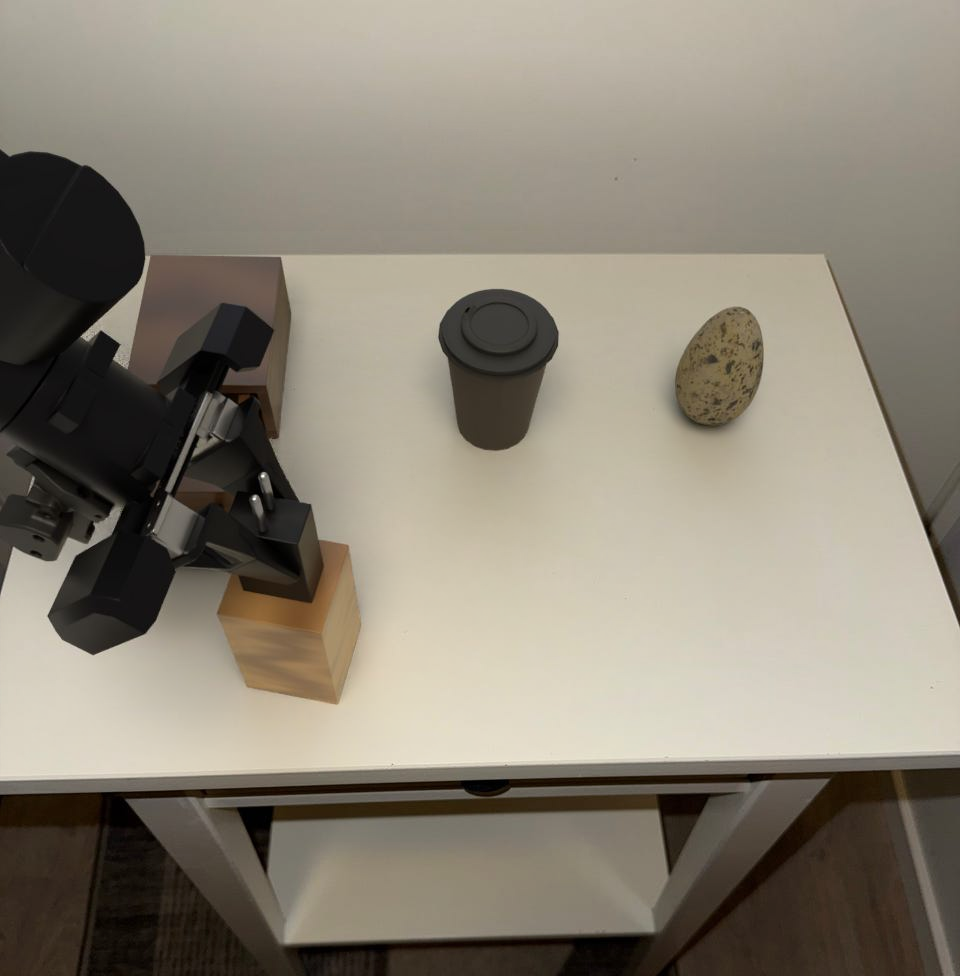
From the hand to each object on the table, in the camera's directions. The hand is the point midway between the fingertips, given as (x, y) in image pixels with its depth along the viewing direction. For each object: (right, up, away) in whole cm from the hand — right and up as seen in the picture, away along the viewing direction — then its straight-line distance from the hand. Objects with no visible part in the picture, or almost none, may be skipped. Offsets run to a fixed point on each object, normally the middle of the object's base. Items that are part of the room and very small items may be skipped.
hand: (301, 557), depth 53 cm
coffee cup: (+11, +12, +21) cm, 26 cm away
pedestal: (-2, -5, +11) cm, 12 cm away
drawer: (-10, +6, +16) cm, 20 cm away
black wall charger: (-1, -1, +2) cm, 3 cm away
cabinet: (-10, +16, +22) cm, 29 cm away
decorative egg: (+27, +13, +22) cm, 37 cm away
